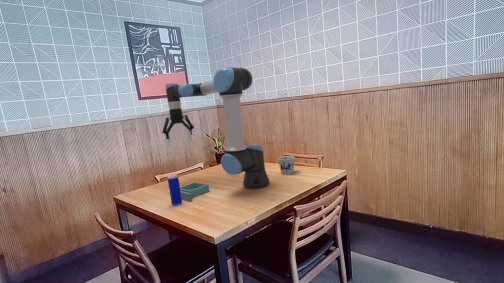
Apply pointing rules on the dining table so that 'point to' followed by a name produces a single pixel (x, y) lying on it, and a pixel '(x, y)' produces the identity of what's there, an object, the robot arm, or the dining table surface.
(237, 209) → the dining table surface
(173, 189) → the beverage can
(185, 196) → the block
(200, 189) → the teal open drawer
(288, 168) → the mug
